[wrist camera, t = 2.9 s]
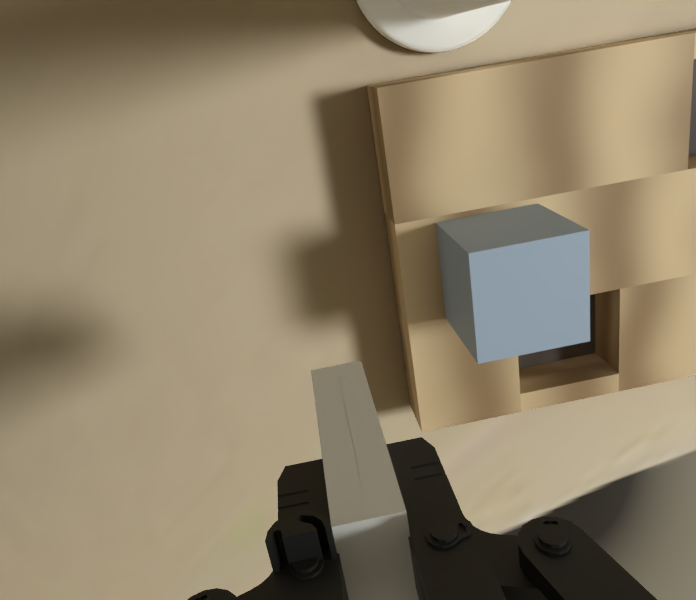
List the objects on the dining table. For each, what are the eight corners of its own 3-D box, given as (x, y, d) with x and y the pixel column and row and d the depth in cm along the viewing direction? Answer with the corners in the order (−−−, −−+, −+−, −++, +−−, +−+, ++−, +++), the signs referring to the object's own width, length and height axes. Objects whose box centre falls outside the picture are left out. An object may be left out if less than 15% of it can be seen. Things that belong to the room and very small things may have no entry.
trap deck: (410, 405, 32) (441, 477, 26) (366, 85, 26) (394, 92, 20) (838, 317, 33) (953, 368, 28) (891, -6, 27) (1050, -23, 22)
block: (445, 318, 28) (477, 364, 23) (435, 222, 26) (468, 253, 22) (541, 299, 28) (590, 341, 24) (537, 203, 26) (589, 229, 22)
